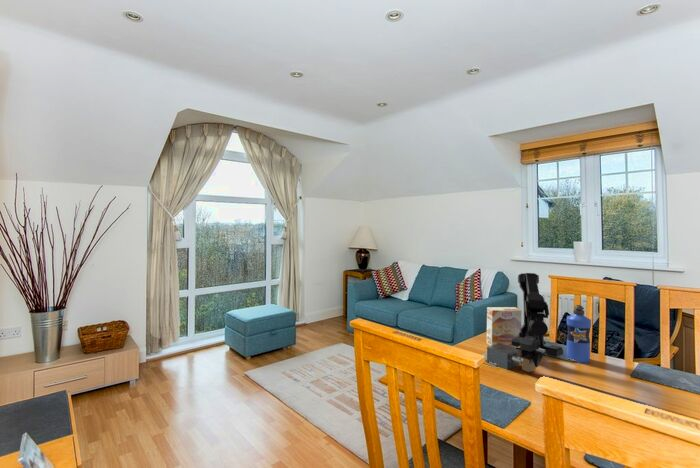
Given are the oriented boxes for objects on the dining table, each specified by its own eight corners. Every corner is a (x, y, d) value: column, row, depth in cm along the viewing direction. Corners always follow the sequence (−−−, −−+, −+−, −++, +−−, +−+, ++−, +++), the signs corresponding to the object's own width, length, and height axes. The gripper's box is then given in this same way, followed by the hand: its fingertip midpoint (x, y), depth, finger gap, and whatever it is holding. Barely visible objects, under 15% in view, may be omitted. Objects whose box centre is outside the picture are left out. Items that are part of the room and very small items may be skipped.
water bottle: (565, 354, 166) (566, 302, 166) (589, 358, 162) (590, 304, 161) (566, 361, 158) (567, 306, 158) (591, 365, 154) (592, 308, 153)
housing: (499, 357, 162) (499, 343, 162) (519, 364, 154) (519, 349, 154) (486, 361, 157) (487, 346, 157) (507, 369, 149) (507, 353, 149)
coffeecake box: (491, 349, 174) (492, 310, 173) (486, 344, 181) (486, 306, 180) (521, 348, 174) (522, 310, 173) (514, 343, 181) (515, 306, 181)
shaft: (497, 355, 161) (497, 344, 161) (535, 369, 146) (535, 357, 146) (490, 357, 158) (490, 347, 158) (529, 372, 143) (529, 359, 143)
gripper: (503, 327, 146) (504, 364, 146) (548, 338, 131) (549, 379, 131) (518, 323, 152) (519, 359, 152) (563, 332, 137) (564, 372, 137)
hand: (536, 367), depth 143 cm, fingers closed
